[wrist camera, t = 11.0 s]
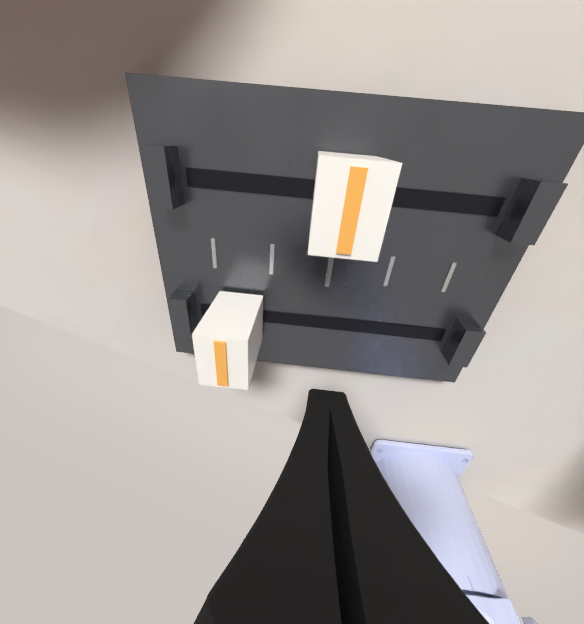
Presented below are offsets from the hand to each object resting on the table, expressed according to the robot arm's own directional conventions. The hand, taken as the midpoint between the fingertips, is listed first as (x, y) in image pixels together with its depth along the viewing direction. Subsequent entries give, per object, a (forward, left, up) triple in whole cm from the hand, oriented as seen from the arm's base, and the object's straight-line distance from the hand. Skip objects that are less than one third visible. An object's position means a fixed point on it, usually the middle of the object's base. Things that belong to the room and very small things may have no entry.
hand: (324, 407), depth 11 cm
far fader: (0, +5, -6) cm, 7 cm away
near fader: (+7, 0, -6) cm, 9 cm away
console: (+4, 0, -7) cm, 8 cm away
